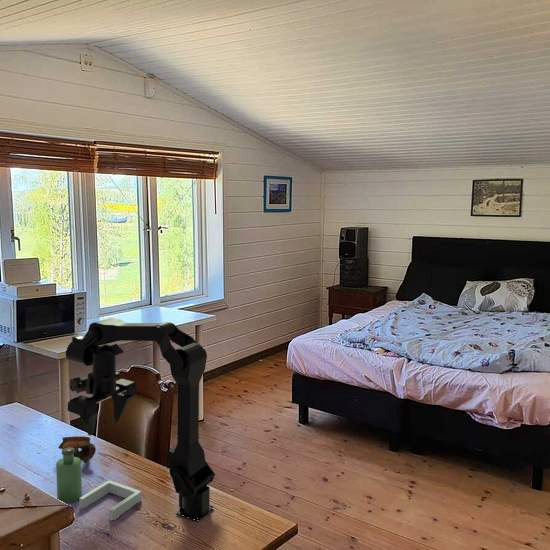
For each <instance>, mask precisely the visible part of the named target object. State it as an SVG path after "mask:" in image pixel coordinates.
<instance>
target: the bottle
mask: <svg viewBox="0 0 550 550" xmlns="http://www.w3.org/2000/svg"><path fill="white" fill-rule="evenodd" d="M74 452H75V449H74V448H72V447H69V448H64V449H63V450H62V449H61V455H62V458H61V459H59V460H56V461H57V462H56V463H55V467H56V468H55V470H56V491H57V494H56V496H57V500H58V499H59V500H61V501H63V502H65V503H64V504H72V503H75V502H77V501H79V498H80V497H82V496H83V486H82V485H83V484H82V483H83V482H82V461H81V459H80V458H78V457H74Z"/></svg>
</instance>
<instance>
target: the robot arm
mask: <svg viewBox="0 0 550 550" xmlns="http://www.w3.org/2000/svg"><path fill="white" fill-rule="evenodd" d="M120 341H121V342H123V341H125V342H126V341H127V342H128V341H130V342H132V341H133V342H134V341H135V342H136V341H137V342H145V341H146V342H155V343H156V344H158V348H159V350H160V353H161V356H162V358H164V360H165V361H166V362H167V363H168V364H169V368H170V374H171V376H172V378H173V380H174V382H175V383H176V387H177V390H176V391H177V393H176V394H177V395H176V399H177V403H176V404H177V405H176V407H177V411H176V413H177V414H176V415H177V416H176V417H177V418H176V419H177V421H176V428H177V429H176V437H177V438H176V439H177V440H176V446H175V447H174V448H171V449H170V450H169V451H168V452H167V462H168V463H167V467H166V469H168V470H169V471H168V472H169V475H170V478H171V480H172V484H173V486H174V490H175V493H176V494H178V507H179V508H178V509H177V510H176V511H175V514H176V513H177V514H180V515H184V516H186V517H189V518H192V519H195V520H199V519H200V518H202V517H203V516H204V515H205V514H206V513H208V512H209V511H210V510H211V509H212V508H213V509H214V505H212V504H210V503H211V502H210V501H211V500H210V497H211V496H210V494H211V492H210V490H211V489H210V488H211V487H210V486H208V485H209V484H210V483H212V482H213V481H214V479H215V476H216V474H215V472H214V471H213V469H212V467H210V465H209V463H208V462H207V461H206V455H205V450H204V448H203V447H202V445H201V443H200V441H199V434H200V433H199V429H200V426H199V422H200V421H199V419H200V418H199V415H200V408H199V407H200V382H201V379H203V378H202V377H203V376H204V374H205V371H206V366H207V360H208V354H207V351H206V349H204V347H203V346H202V344H200V343H198V342H197V340H195V338H194V337H192V336H191V335H189V334H188V333H185V332H184V331H182V330H180V328H178V326H176V324H174V323H173V322H169V321H166V322H147V323H146V322H140V323H139V322H125V321H124V320H122V319H118V318H114V317H110V318H106V319H102V320H99V321H95V322H91V323H90V324H89V326H88V329H87V331H86V334H84V336H83V335H75V336H72V337H71V342H70V343H68V345H67V347H66V350H65V357H66V359H67V360H68V362H72V363H75V364H79V365H83V366H87V367H89V366H92V367H91V372H88V373H87V376H84V377H80V376H77V377H73V378H70V379H69V386H68V387H69V389H70V391H71V392H72V393H73V392H75V393H76V394H79V393H83V392H85V394H88V395H91V397H88V396H84V395H78V396H76V397H73V398H72V399H69V400H68V402H67V412H70V413H72V414H76V415H78V416H79V417H80V419H81V421H82V424H83V426H84V428H85V431H86V432H87V435H88V436H90V437H91V436H93V434H94V432H95V427H96V423H97V418H98V413H99V412H98V411H97V409H98V404H99V403H101V402H103V401H106V400H108V399H110V398H112V399H111V400H112V403H113V405H112V406H113V421H114V422H115V423H119V422H120V420H121V419H122V416H123V414H124V413H125V410H126V408H127V407H128V405H129V404H130V402H131V400H132V399H133V398H134V396H135V394H137V393H138V385H137V383H136V382H135V381H131V380H129V379H124V378H120V376H121V375H120V374H121V373H120V372H118V371H117V356H119V355H122V354H123V353H124V350H123V348H121V347H120V346H119V344H117V343H115V342H120ZM112 343H115V344H112ZM172 343H174V344H175V345H177V346H179V348H177V349H176V348H175V347H174V345H172ZM110 344H111V345H110ZM117 378H120V379H117ZM213 509H212V510H213ZM212 510H211V511H212ZM211 511H210V512H211ZM210 512H209V513H210ZM209 513H208V514H209ZM177 514H176V515H177ZM180 515H179V516H180ZM205 516H206V515H205ZM205 516H204V517H205ZM186 517H185V518H186ZM204 517H203V518H204ZM189 518H188V519H189ZM197 518H198V519H197ZM203 518H202V519H203Z"/></svg>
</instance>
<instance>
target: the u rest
mask: <svg viewBox="0 0 550 550" xmlns="http://www.w3.org/2000/svg"><path fill="white" fill-rule="evenodd" d="M109 493H110V494H112V493H113V495H115V494H116V495H115V496H119V497H121V498H124V499H123V500H122V501H120V502H119V503H117V504H115V505H114V506H113V507H111V508H110V509H109V520H110V519H112V520H114V519H115V518H117V517H118V516H120V515H121V514H122V515H124V514H125V513H126V512H125V511H127V510H128V509H129V510H131V509H132V508H133V507H132V506H134V505H135V504H136V503H138V502H139V503H141V502H142V501H143V500H142V491H141V490H139V489H135V488H133V487H130V486H127V485H125V484H121V483H118V482H116V481H113V480H107V481H105V482H103V483H102V484H100V485H99V486H97V487H95V488H94V489H92V490H89V492H87V493H86V494H84V495H82V497H80V498H79V500H78V501H79V509H81V508H82V509H81V510H83V508H84V509H85V508H87V507H88V505H89V506H91V504H94V503H95V502H96V501H98V500H99V499H101V498H102V497H104V496H106V495H107V494H109ZM141 500H142V501H141ZM140 501H141V502H140ZM139 503H138V504H139ZM135 506H136V505H135ZM135 506H134V507H135ZM131 507H132V508H131ZM130 508H131V509H130ZM129 510H128V511H129ZM128 511H127V512H128ZM124 512H125V513H124ZM123 513H124V514H123ZM122 515H121V516H122ZM121 516H120V517H121ZM118 518H119V517H118ZM118 518H117V519H118ZM112 520H111V521H112ZM115 520H116V519H115ZM115 520H114V521H115Z"/></svg>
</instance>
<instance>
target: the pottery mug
mask: <svg viewBox="0 0 550 550" xmlns="http://www.w3.org/2000/svg"><path fill="white" fill-rule="evenodd" d="M69 447H72V448H74V449H75V452H74V457H78V458H80V459H81V462H83V463H84V464H86V463H88V462H90V460H91V459H93V457H94V455H95V454H96V446H95V444H94V443H92V442H91V437H89V436H84V435H83V436H82V435H81V436H79V435H77V436H65V437H62V442H61V443H60V444H59V446H58V447H57V448H58V449H60V450H61V451H62V450H63V449H64V448H69Z"/></svg>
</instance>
